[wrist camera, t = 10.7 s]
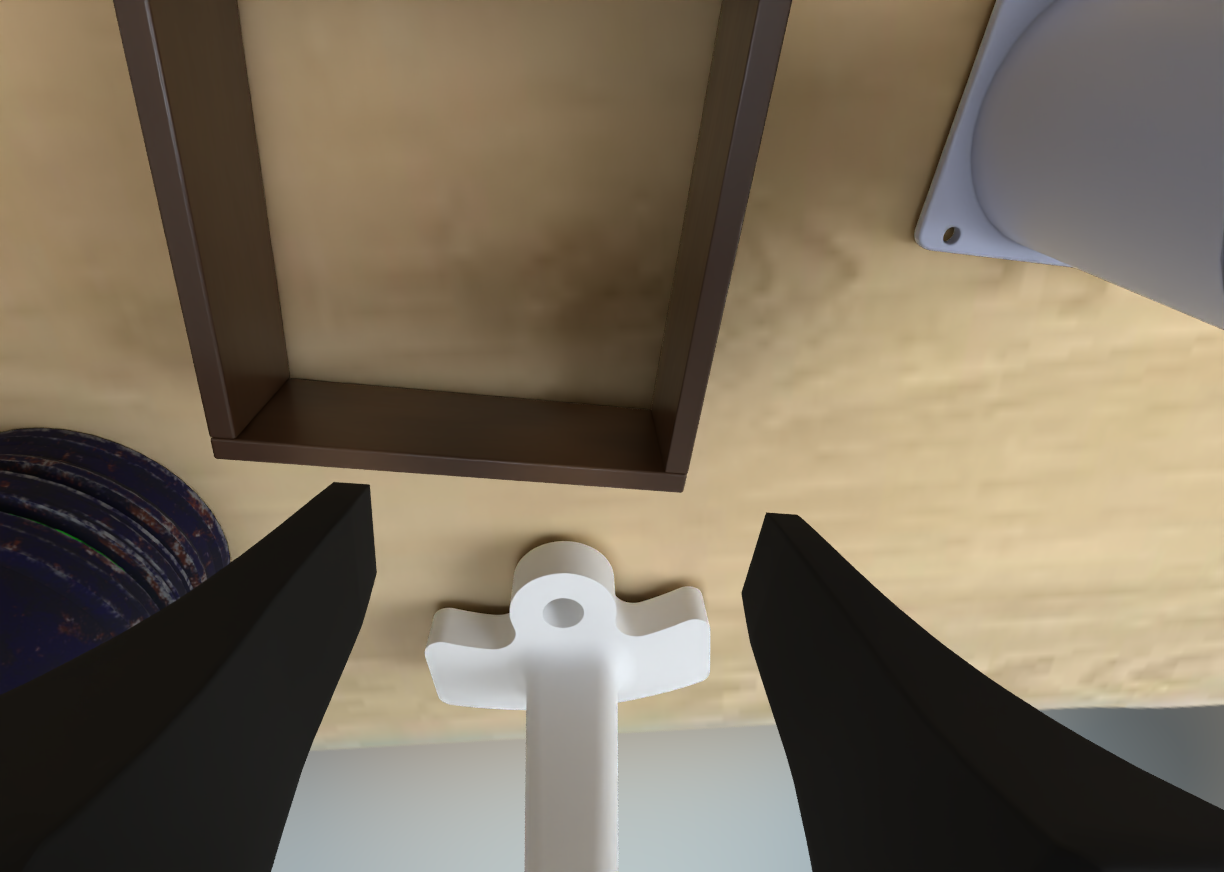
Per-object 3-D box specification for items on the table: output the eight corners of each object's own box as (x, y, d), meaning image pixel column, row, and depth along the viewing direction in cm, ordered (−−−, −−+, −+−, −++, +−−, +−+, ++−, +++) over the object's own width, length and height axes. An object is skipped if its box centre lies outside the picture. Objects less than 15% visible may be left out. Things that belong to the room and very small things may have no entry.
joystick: (454, 675, 29) (276, 1597, 12) (415, 546, 25) (62, 1644, 8) (700, 653, 29) (888, 1535, 12) (700, 521, 25) (981, 1552, 8)
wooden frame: (756, -34, 16) (806, -59, 13) (666, 427, 23) (683, 494, 19) (187, -128, 15) (69, -186, 11) (271, 394, 21) (213, 459, 18)
